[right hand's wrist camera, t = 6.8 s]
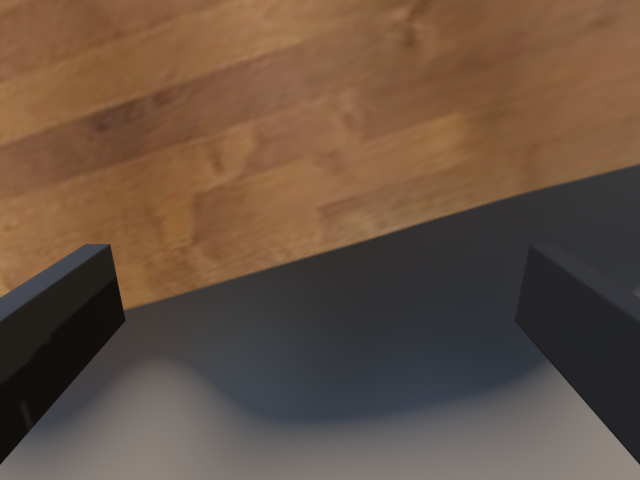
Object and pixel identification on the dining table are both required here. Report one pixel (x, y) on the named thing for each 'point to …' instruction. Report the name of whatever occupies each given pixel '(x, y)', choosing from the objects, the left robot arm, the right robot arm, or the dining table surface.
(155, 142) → the dining table surface
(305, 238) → the dining table surface
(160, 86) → the dining table surface
